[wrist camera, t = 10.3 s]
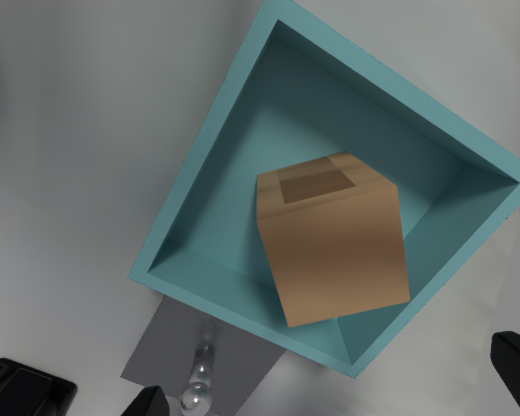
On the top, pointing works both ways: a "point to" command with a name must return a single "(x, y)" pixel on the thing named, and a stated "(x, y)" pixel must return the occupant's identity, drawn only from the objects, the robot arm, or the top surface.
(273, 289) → the bin
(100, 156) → the top surface
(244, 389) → the stud plate
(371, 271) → the taped shipping carton
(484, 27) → the top surface
